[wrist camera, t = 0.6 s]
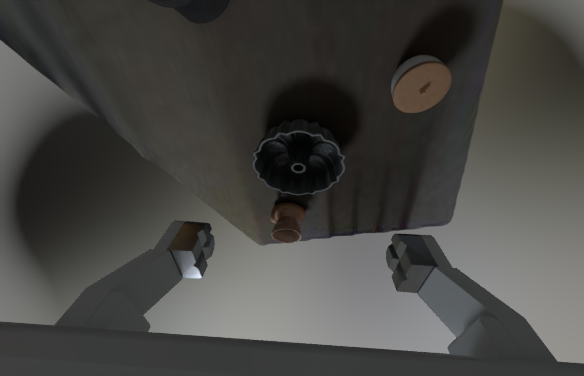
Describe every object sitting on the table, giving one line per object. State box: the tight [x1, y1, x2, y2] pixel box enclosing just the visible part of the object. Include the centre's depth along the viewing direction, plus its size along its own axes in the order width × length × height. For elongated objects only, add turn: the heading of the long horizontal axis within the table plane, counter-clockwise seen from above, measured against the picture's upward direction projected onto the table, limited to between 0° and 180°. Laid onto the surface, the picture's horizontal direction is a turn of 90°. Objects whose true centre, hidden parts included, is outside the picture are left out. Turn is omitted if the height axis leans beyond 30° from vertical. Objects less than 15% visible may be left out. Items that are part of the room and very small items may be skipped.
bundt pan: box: [253, 119, 345, 195], centre depth 67 cm, size 26×26×10 cm
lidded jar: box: [391, 55, 452, 113], centre depth 47 cm, size 11×11×9 cm
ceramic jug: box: [270, 202, 305, 243], centre depth 94 cm, size 18×14×14 cm
